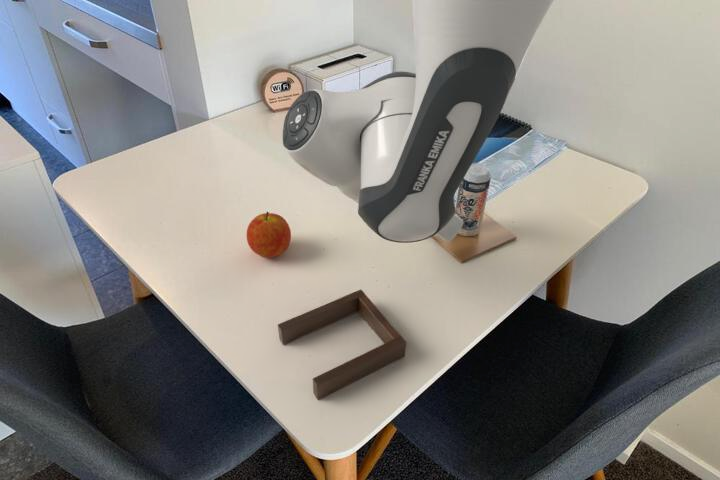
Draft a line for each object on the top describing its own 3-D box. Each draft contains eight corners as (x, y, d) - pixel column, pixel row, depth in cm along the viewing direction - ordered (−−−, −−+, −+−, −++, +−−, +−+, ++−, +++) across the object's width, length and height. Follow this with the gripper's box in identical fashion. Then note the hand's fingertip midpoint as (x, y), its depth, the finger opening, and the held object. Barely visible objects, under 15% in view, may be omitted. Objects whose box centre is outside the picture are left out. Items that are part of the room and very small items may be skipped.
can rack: (405, 356, 69) (406, 341, 67) (317, 400, 64) (316, 385, 62) (360, 303, 76) (361, 289, 74) (279, 339, 71) (277, 324, 69)
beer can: (449, 234, 88) (458, 173, 81) (455, 218, 92) (464, 159, 84) (477, 240, 87) (489, 179, 80) (482, 224, 91) (494, 164, 83)
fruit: (269, 272, 81) (264, 232, 76) (240, 253, 85) (233, 214, 80) (301, 250, 85) (298, 211, 80) (272, 233, 89) (267, 194, 84)
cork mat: (515, 239, 88) (516, 236, 88) (461, 263, 84) (461, 260, 83) (469, 204, 96) (469, 201, 96) (416, 224, 91) (417, 221, 91)
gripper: (446, 191, 62) (489, 227, 73) (346, 127, 75) (395, 165, 85) (414, 234, 63) (462, 264, 73) (321, 163, 75) (373, 197, 86)
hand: (425, 210), depth 79 cm, fingers open, 8 cm apart
